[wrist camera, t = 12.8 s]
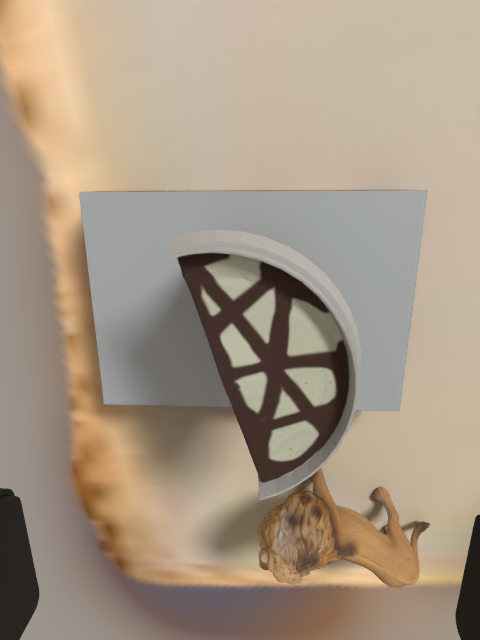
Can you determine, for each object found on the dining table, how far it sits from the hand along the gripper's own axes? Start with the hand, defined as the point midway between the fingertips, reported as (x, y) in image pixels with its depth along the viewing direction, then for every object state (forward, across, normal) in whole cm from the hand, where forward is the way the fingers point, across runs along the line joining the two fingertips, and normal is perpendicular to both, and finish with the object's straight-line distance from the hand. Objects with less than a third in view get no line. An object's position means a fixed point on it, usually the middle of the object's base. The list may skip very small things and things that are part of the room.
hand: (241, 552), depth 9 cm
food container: (+18, -1, 0) cm, 19 cm away
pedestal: (+22, +1, 0) cm, 22 cm away
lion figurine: (+23, -7, +18) cm, 29 cm away
